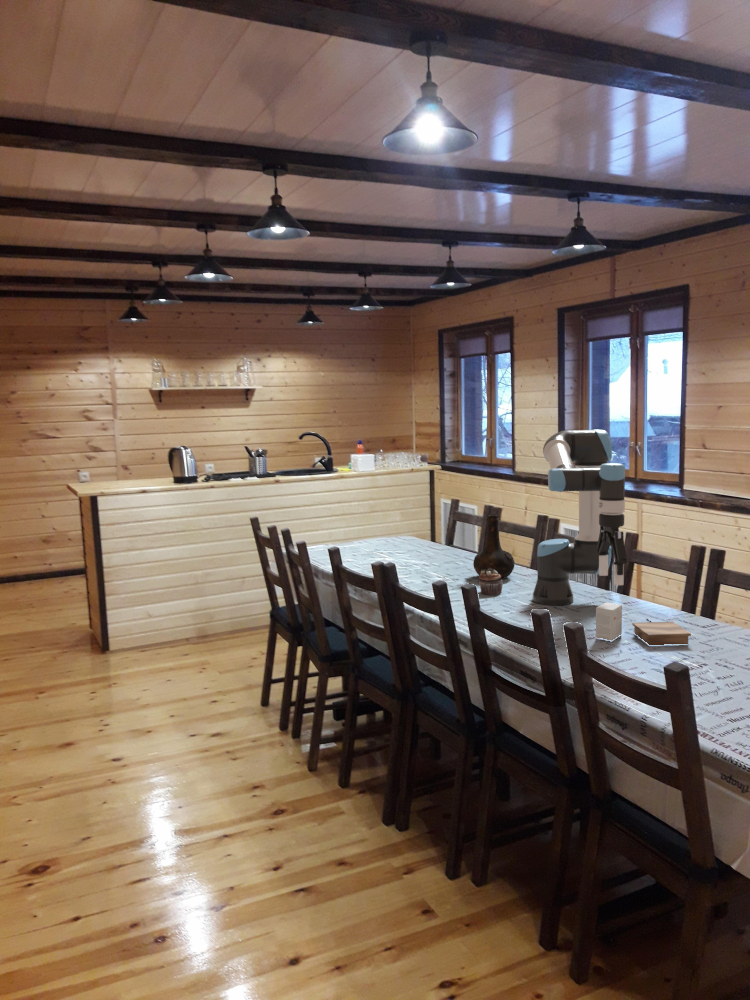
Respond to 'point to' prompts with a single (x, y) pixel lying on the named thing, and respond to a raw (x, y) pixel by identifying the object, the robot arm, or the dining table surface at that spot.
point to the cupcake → (490, 582)
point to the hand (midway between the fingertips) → (610, 580)
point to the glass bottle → (494, 552)
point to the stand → (661, 633)
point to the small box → (608, 621)
